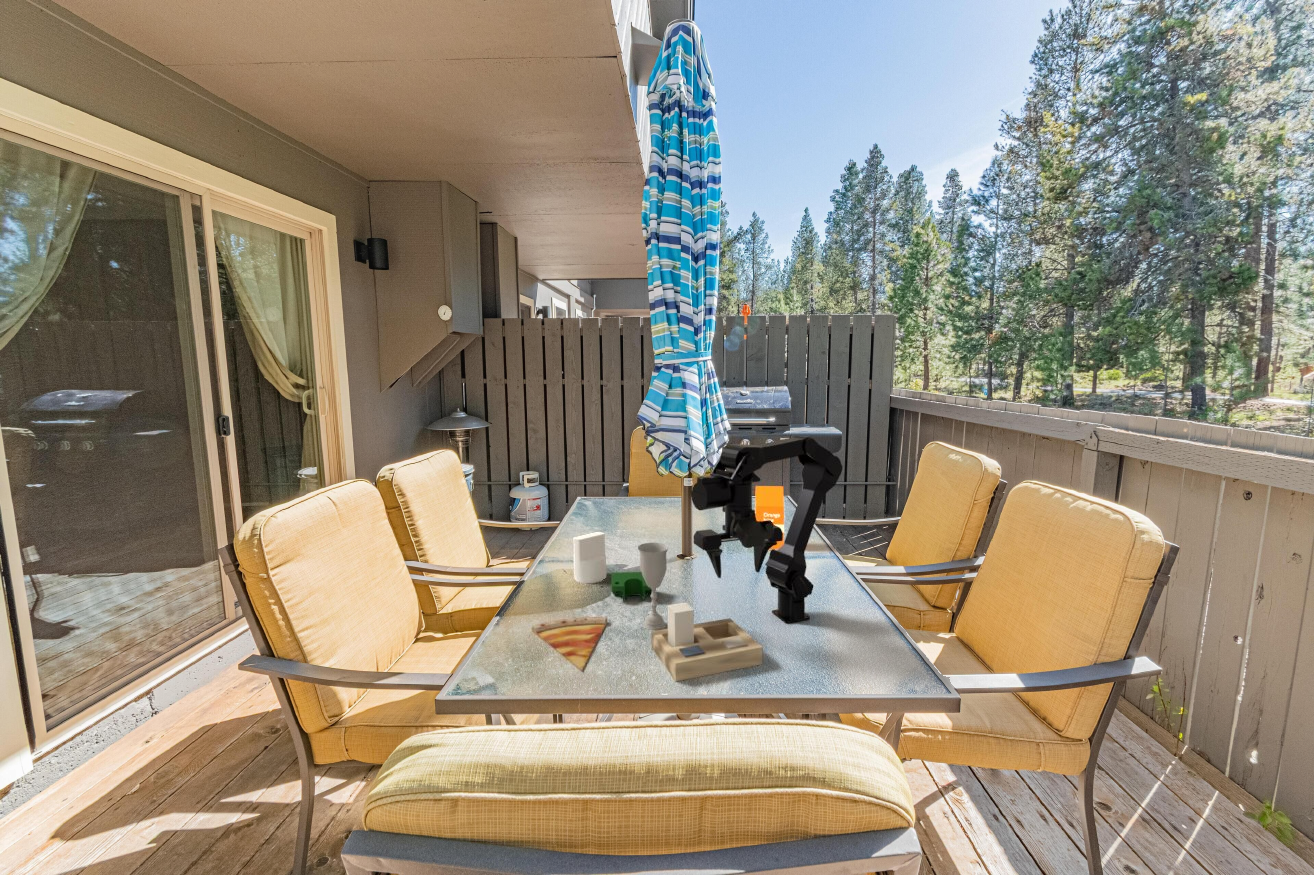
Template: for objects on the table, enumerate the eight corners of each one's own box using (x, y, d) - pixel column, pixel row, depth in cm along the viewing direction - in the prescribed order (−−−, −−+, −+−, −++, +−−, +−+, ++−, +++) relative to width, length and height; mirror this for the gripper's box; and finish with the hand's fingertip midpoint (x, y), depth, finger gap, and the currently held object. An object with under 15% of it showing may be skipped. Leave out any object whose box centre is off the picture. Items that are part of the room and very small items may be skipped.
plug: (668, 652, 117) (667, 605, 116) (686, 649, 118) (686, 602, 117) (675, 661, 113) (674, 613, 112) (693, 658, 114) (693, 610, 113)
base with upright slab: (586, 585, 154) (584, 542, 153) (567, 577, 161) (566, 535, 159) (612, 577, 160) (611, 535, 158) (594, 569, 167) (593, 529, 165)
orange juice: (754, 543, 190) (755, 483, 187) (782, 544, 188) (782, 484, 186) (755, 550, 182) (755, 488, 180) (783, 551, 181) (784, 488, 179)
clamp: (619, 616, 145) (604, 589, 142) (620, 602, 150) (605, 575, 147) (663, 599, 144) (649, 571, 140) (662, 585, 149) (648, 558, 146)
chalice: (634, 621, 132) (632, 544, 130) (661, 615, 134) (660, 541, 132) (646, 634, 125) (645, 554, 123) (674, 628, 128) (673, 549, 126)
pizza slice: (503, 669, 112) (503, 659, 112) (541, 620, 134) (541, 612, 134) (581, 674, 110) (581, 664, 110) (607, 623, 132) (607, 615, 131)
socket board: (651, 647, 119) (651, 630, 119) (730, 633, 125) (730, 616, 124) (675, 681, 106) (675, 662, 105) (762, 664, 112) (762, 645, 111)
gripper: (714, 517, 112) (714, 594, 113) (797, 508, 118) (796, 581, 119) (692, 504, 122) (692, 575, 124) (769, 497, 128) (769, 565, 130)
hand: (738, 574), depth 124 cm, fingers open, 9 cm apart
